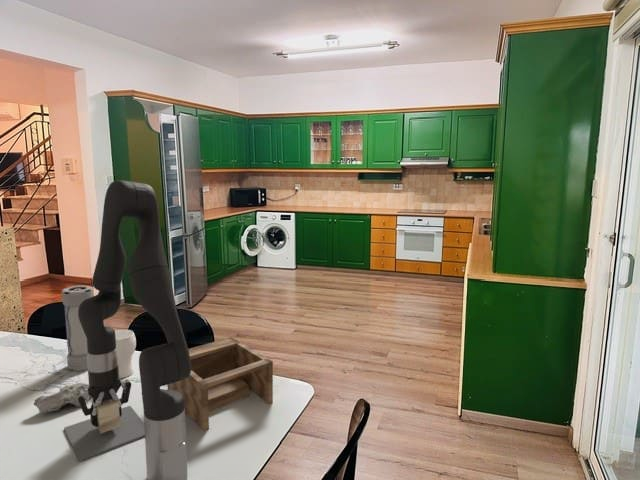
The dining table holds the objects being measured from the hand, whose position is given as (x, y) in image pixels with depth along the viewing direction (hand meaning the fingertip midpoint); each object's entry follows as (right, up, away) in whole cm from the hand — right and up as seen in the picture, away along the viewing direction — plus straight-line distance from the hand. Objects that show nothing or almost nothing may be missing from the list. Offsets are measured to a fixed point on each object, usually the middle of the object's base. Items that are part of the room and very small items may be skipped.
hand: (106, 421), depth 120 cm
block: (0, -1, 0) cm, 1 cm away
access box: (+27, -1, +19) cm, 33 cm away
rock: (-19, -1, +13) cm, 23 cm away
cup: (-12, +2, +35) cm, 37 cm away
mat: (0, -3, 0) cm, 3 cm away
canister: (-29, +4, +41) cm, 50 cm away
